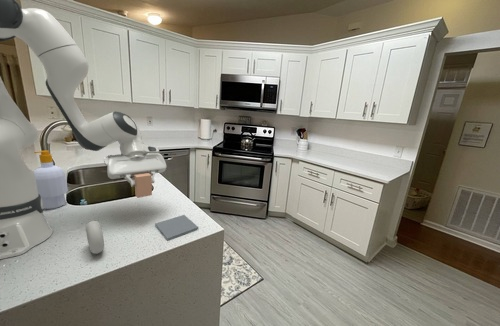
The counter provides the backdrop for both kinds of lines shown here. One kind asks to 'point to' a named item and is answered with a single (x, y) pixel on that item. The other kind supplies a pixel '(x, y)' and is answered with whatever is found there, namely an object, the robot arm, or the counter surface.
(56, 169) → the soap bottle
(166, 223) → the coaster
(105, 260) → the counter surface
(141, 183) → the block
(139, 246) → the counter surface
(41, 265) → the counter surface
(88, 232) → the donut
